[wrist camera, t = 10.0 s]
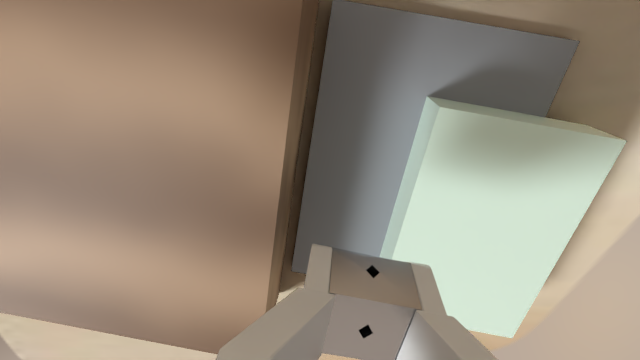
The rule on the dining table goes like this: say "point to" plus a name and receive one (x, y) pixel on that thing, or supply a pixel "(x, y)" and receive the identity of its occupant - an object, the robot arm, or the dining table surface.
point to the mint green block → (494, 205)
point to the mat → (403, 108)
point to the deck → (149, 162)
